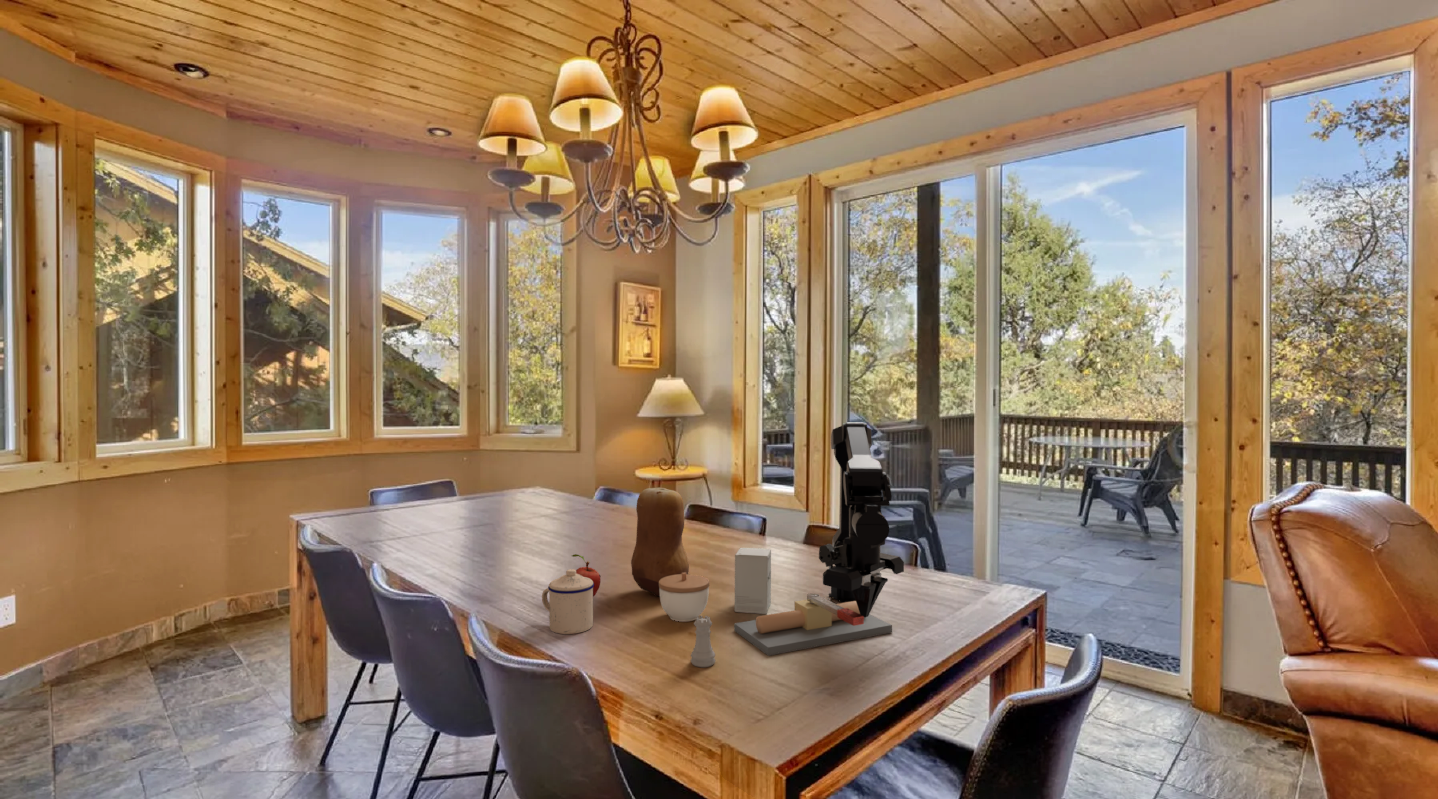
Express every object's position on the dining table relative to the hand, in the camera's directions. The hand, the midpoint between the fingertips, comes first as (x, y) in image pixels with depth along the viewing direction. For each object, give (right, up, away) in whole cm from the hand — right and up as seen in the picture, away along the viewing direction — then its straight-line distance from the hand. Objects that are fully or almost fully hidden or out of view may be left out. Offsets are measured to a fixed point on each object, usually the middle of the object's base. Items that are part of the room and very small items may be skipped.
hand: (864, 616), depth 126 cm
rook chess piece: (-30, -6, -7) cm, 31 cm away
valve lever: (-6, 0, +2) cm, 6 cm away
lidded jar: (-35, -6, +17) cm, 39 cm away
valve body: (-8, -6, +9) cm, 13 cm away
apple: (-58, -6, +31) cm, 66 cm away
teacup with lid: (-58, -6, +12) cm, 60 cm away
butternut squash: (-41, -6, +34) cm, 54 cm away
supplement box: (-20, -6, +23) cm, 31 cm away
